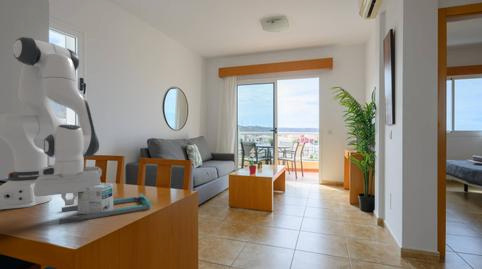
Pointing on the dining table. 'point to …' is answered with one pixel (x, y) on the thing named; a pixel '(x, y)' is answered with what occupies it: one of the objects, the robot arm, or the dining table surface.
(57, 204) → the dining table surface
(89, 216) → the rail frame
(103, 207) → the light bulb box
